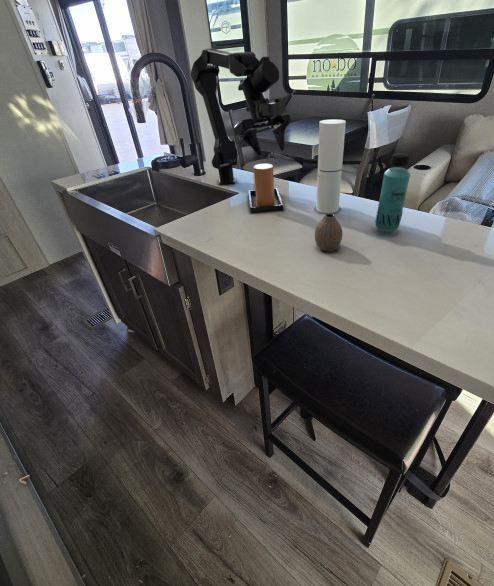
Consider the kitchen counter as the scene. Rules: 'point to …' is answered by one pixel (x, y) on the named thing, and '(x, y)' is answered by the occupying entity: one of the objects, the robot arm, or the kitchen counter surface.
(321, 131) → the cylindrical container
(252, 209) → the black rectangular frame
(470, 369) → the kitchen counter surface
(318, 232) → the vase
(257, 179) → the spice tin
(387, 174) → the beverage bottle
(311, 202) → the kitchen counter surface
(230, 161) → the robot arm
